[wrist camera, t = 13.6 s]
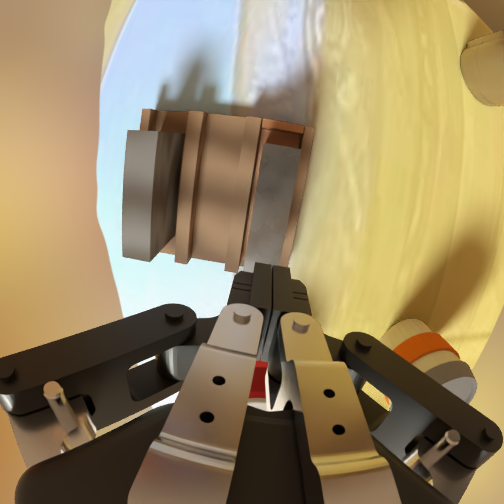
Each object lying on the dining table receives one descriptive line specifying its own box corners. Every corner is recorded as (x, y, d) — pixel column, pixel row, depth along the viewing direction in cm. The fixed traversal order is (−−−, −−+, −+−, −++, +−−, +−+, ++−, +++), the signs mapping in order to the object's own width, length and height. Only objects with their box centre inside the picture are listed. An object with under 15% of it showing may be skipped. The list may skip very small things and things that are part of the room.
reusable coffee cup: (405, 295, 36) (453, 363, 22) (447, 326, 38) (490, 385, 24) (351, 355, 40) (374, 432, 26) (399, 376, 42) (425, 441, 28)
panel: (265, 143, 29) (263, 142, 21) (293, 148, 29) (301, 149, 21) (248, 248, 33) (241, 279, 26) (274, 252, 33) (274, 285, 26)
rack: (154, 111, 29) (115, 103, 20) (310, 129, 29) (326, 123, 20) (144, 244, 35) (109, 276, 27) (283, 267, 35) (287, 309, 27)
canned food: (224, 359, 42) (213, 414, 32) (265, 335, 40) (262, 393, 29) (256, 385, 44) (252, 439, 33) (296, 364, 41) (300, 420, 31)
